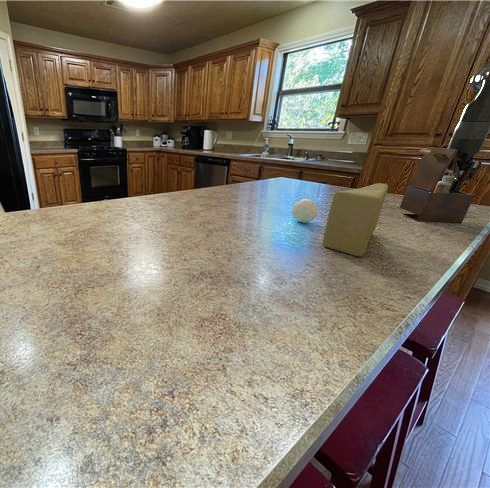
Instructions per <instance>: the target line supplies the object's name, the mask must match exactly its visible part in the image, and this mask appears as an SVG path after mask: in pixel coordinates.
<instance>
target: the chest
mask: <svg viewBox="0 0 490 488" xmlns="http://www.w3.org/2000/svg"><path fill="white" fill-rule="evenodd" d="M434 190H435V188H434ZM434 190H433V191H432V192H430V191H427V190H423V189H420V188H416V187H413V186H409V185H406V189H405V192H404V194H403V198H402V199H401V202H400V205H399V208H400V209H402V210H405V211H408V212H410V213H401V215H404V216H406V217H408V218H410V219H412V220H415V221H416V222H420V223H421V222H422V223H439V224H455V225H461V224H462V223H463V222H464V219H465V217H466V215H467V213H468V211H469V209H470V206H471V204H472V202H473V200H474V199H475V195H476V194H473V193H469V192H466V191H461V190H459V192H458V193H457V194H451V193H434Z"/></svg>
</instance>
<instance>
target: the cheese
mask: <svg viewBox="0 0 490 488" xmlns="http://www.w3.org/2000/svg"><path fill="white" fill-rule="evenodd" d="M388 189H389V184H387V183H379V182H377V183H374V184H371V185H367V186H364V187H360V188H355V189H345V190H338V191H335V193H334V194H333V198H332V201H331V204H330V208H329V212H328V216H327V220H326V225H325V228H324V233H323V239H322V246H323V247H326V248H328V249H330V250H331V249H332V250H334V251H337V252H341V253H344V254H348V255H350V256H355V257H362V256H364V254H365V252H366V250H367V248H368V244H369V242H370V239H371V237H372V236H373V234H374V232H375V231H376V227H377V225H378V223H379V219H380V215H381V211H382V208H383V204H384V202H385V199H386V196H387V195H388V194H387V193H388Z"/></svg>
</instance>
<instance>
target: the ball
mask: <svg viewBox="0 0 490 488" xmlns="http://www.w3.org/2000/svg"><path fill="white" fill-rule="evenodd" d="M291 214H292V218H293V219H294V220H295V221H296V222H298V223H303V224H307V223H309V222H312V221H314V220H315V219H316V218H317V216H318V214H319V207H318V205H317V203H315V201H313V199H307V198H302V199H300V200H297V201H296V203H294V204H293V206H292V209H291Z"/></svg>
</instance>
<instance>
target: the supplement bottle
mask: <svg viewBox="0 0 490 488" xmlns="http://www.w3.org/2000/svg"><path fill="white" fill-rule="evenodd" d="M454 176H455V175H449V176H443V178H442V181H439V182H438V183H437V185H436V188H435V190H434V193H451V192H449V190H450V188H451V185H452V183H453V181H454ZM451 194H457V193H451Z"/></svg>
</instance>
